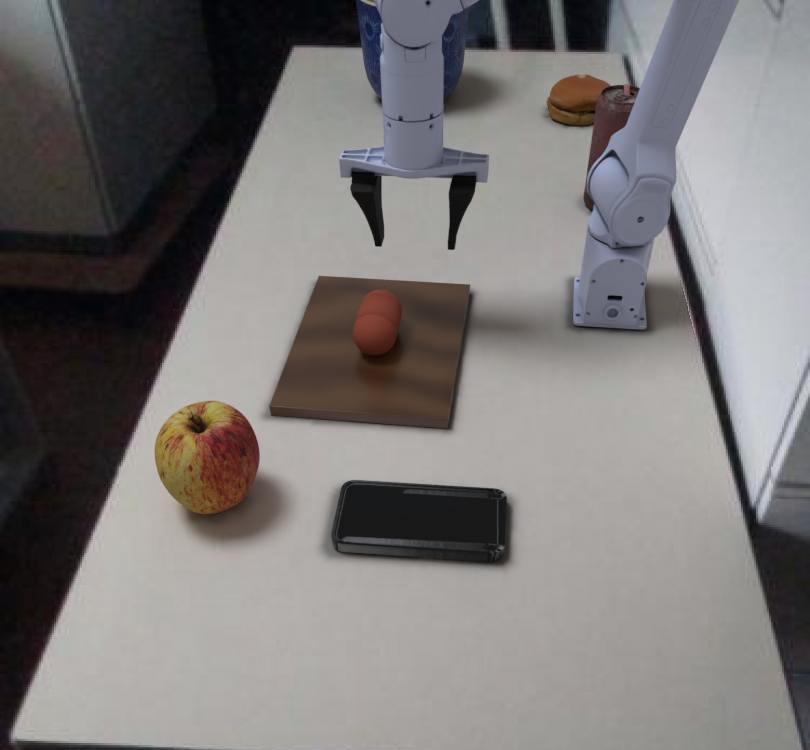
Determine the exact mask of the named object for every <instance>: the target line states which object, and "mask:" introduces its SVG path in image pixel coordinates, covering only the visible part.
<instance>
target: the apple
mask: <svg viewBox="0 0 810 750" xmlns="http://www.w3.org/2000/svg"><path fill="white" fill-rule="evenodd" d="M260 454H261V453H260V446H259V441H258V437H257V435H256V433H255V430H254V428H253V426H252V424H251V423H250V421H249V420H248V418H247V417H246V416H245V415H244V414H243V413H242V412H241V411H239V410H238V409H237V408H235V407H234V406H232V405H230V404H227V403H225V402H223V401H218V400H206V401H205V400H204V401H198V402H195V403H192V404H189V405H185V406H184V407H182V408H180V409H178V410H176V411H175V412H174V413H172V414H171V416H169V417H168V418H167V419H166V421H164V423H163V424H162V426H161V428H160V429H159V432H158V434H157V436H156V439H155V442H154V461H155V466H156V470H157V474H158V476H159V479H160V481H161V483H162V485H163V487H164V488H165V489H166V491H167V493H169V495H170V496H171V497H172V498H173V499H174V500H175V501H176V502H178V503H179V504H180V505H181V506H183V507H184V508H186V509H187V510H189V511H191V512H193V513H196V514H200V515H213V514H219V513H222V512H225V511H227V510H229V509H231V508H233V507H235V506H237V505H238V504H240V503H241V502H242V501H243V500H244V498H246V496H247V495H248V493H249V491H250V489H251V487H252V485H253V483H254V481H255V479H256V477H257V474H258V470H259V466H260V461H261V460H260V457H261V456H260Z"/></svg>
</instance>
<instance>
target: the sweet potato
mask: <svg viewBox="0 0 810 750" xmlns="http://www.w3.org/2000/svg"><path fill="white" fill-rule="evenodd" d="M401 317H402V307H401V303H400V301H399V299H398V298H397V297H396V296H395V295H394V294H393V293H391V292H390V291H387V290H383V289H379V290H374V291H371V292H370V293H368V294H367V295H366V296H365V297H364V298H363V300H362V302H361V304H360V307H359V311H358V314H357V317H356V320H355V324H354V327H353V339H354V342H355V344H356V346H357V347H358V348H359V350H361V351H362V352H363V353H365V354H367V355H371V356H379V355H382V354H384V353H386V352H388V351H389V350H390V349H391V348H392V346H393V345H394V343H395V340H396V337H397V333H398V329H399V325H400V321H401Z"/></svg>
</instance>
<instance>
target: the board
mask: <svg viewBox="0 0 810 750" xmlns="http://www.w3.org/2000/svg"><path fill="white" fill-rule="evenodd" d="M379 289H383V290H387V291H390V292H391V293H393V294H394V295H395V296H396V297H397V298H398V299H399V301H400V303H401V307H402V317H401V321H400V325H399V329H398V333H397V337H396V340H395V343H394V345H393V346H392V348H391V349H390V350H389V351H388V352H386V353H384V354H382V355H379V356H371V355H367V354H365V353H363V352H362V351H361V350H359V348H358V347H357V346H356V344H355V342H354V339H353V327H354V324H355V320H356V317H357V314H358V311H359V307H360V304H361V302H362V300H363V298H364V297H365V296H366V295H367V294H368V293H370V292H371V291H374V290H379ZM470 294H471V284H469V283H453V282H452V283H451V282H438V281H437V282H435V281H417V280H399V279H384V278H382V279H381V278H365V277H349V276H332V275H318V277H317V279H316V282H315V285H314V288H313V289H312V293H311V295H310V298H309V301H308V303H307V306H306V308H305V311H304V314H303V317H302V319H301V321H300V324H299V326H298V329H297V332H296V334H295V337H294V340H293V343H292V345H291V348H290V350H289V353H288V355H287V358H286V361H285V363H284V366H283V369H282V372H281V374H280V376H279V379H278V382H277V384H276V388H275V390H274V393H273V395H272V398H271V400H270V403H269V405H268V407H269V412H270V415H271V416H279V417H293V418H306V419H318V420H331V421H345V422H356V423H357V422H359V423H369V424H384V425H395V426H397V425H398V426H409V427H421V428H422V427H423V428H435V429H448V428H449V423H450V417H451V409H452V405H453V398H454V391H455V386H456V379H457V374H458V367H459V361H460V356H461V350H462V343H463V337H464V331H465V324H466V319H467V313H468V306H469V301H470Z"/></svg>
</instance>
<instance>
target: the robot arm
mask: <svg viewBox="0 0 810 750" xmlns="http://www.w3.org/2000/svg"><path fill="white" fill-rule="evenodd" d="M479 1H480V0H374V2H375V5H376V7H377V10H378V11H379V13H380V16H381V20H382V23H381V35H380V46H381V49H382V53H381V56H380V71H381V92H382V99H381V110H382V127H383V128H382V129H383V130H382V131H383V145H382V146H374V147H367V148H358V149H356V148H355V149H342V151H341V153H340V155H339V158H338V161H339V163H338V164H339V175H340V178H343V179H350V178H351V180H350V181H351V184H350V186H349V188H350V189H349V190H350V193H351V196H352V198H353V199H354V200H355V202H356V203H357V205H358V207H359V209H361V211H362V213H363V216H364V218H365V220H366V222H367V224H368V226H369V230H370V232H371V235H372V238H373V242H374V243H373V244H374V247H378V248H382V247H383V243H384V240H385V222H384V213H383V198H382V197H383V196H382V195H383V191H382V189H383V187H382V182H383V181H382V180H383V177H395V178H400V179H409V180H415V179H416V180H417V179H425V178H430V179H431V178H432V179H450V180H451V181H450V185H449V188H448V189H449V190H448V212H449V213H448V214H449V226H448V234H447V235H448V236H447V251H454V250H456V244H457V237H458V232H459V230H460V229H459V228H460V226H461V223H462V221H463V219H464V216H465V214H466V211H467V210H468V207H469V206H470V204H471V203H472V200H473V198H474V195H475V193H476V187H477V183H483V184H486V183H488V179H489V166H490V154H488V153H487V154H486V153H476V152H471V151H470V152H469V151H466V150H460V149H454V148H449V147H445V146H444V100H443V86H444V57H443V54H442V34H443V33H444V31H445V29H446V27H447V25H448V23H449V20H450V17H451V16H452V15H453V14H457V13H459V12H461V11H463V8H464V9H466V8H468V7H469V8H470V7H471V6H472V5H474V4H476V3H478V2H479ZM739 2H740V0H673V2H672V4H671V6H670V9H669V11H668V14H667V17H666V19H665V22H664V24H663V27H662V30H661V33H660V35H659V38H658V41H657V43H656V46H655V49H654V51H653V53H652V56H651V59H650V61H649V64H648V67H647V69H646V71H645V74H644V77H643V80H642V82H641V85H640V87H639V88H640V90H639V92H638V95H637V98H636V100H635V103H634V106H633V108H632V111H631V113H630V116H629V119H628V121H627V124H626V126H625V127H624V128H622V129H621V130H619V131H618V132H616V133H615V134H613V135H612V136H611V138H610V141H609V144H608V146H607V148H606V150H605V152H604V153H603V154H602V155H601V157H600V158H599V159H598V160H597V161H596V162H595V163H594V164H593V166H592V167H591V169H590V171H589V174H588V177H587V191H588V194H589V196H590V197H591V199H592V200H593V201H594V208H593V211H592V212H591V214H590V215H589V218H588V221H587V228H586V234H585V242H584V249H583V254H582V255H583V256H582V261H581V269H580V276H579V275H578V276H575V277H574V279H573V303H572V304H573V305H572V306H573V307H572V308H573V309H572V312H573V313H572V323H573V325H574V326H577V327H590V328H591V327H592V328H593V327H594V328H606V329H607V328H608V329H609V328H610V329H623V330H625V329H626V330H641V331H643V330H646V329H647V327H648V323H647V310H646V295H645V292H646V287H647V281H648V271H649V266H650V262H651V258H652V252H653V248H654V243H655V240H656V238H657V237H658V236H659V235H660V234H661V233H662V232H663V231H664V229H665V227H666V226H667V224H668V221H669V219H670V216H671V197H672V194H673V191H674V188H675V185H676V183H677V158H676V156H677V155H676V153H677V152H676V151H677V145H678V143H679V141H680V139H681V136H682V134H683V131H684V129H685V126H686V124H687V123H688V120H689V118H690V115H691V112H692V110H693V109H694V106H695V103H696V101H697V98H698V97H699V94H700V92H701V90H702V87H703V86H704V85H703V84H704V83H705V80H706V78H707V76H708V73H709V72H710V69H711V67H712V64H713V62H714V59H715V57H716V55H717V53H718V50H719V48H720V46H721V43H722V42H723V38H724V36H725V34H726V33H727V32H726V31H727V29H728V27H729V25H730V22H731V21H732V18H733V16H734V13H735V11H736V8H737V6H738V3H739ZM461 4H462V5H461ZM462 6H463V8H462Z"/></svg>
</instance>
